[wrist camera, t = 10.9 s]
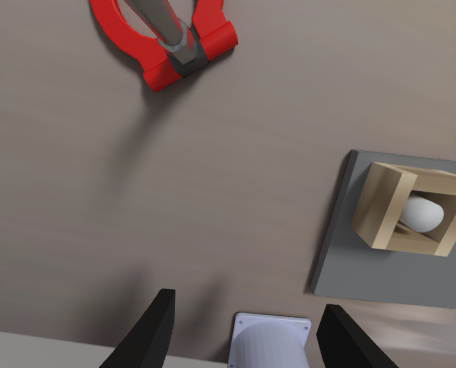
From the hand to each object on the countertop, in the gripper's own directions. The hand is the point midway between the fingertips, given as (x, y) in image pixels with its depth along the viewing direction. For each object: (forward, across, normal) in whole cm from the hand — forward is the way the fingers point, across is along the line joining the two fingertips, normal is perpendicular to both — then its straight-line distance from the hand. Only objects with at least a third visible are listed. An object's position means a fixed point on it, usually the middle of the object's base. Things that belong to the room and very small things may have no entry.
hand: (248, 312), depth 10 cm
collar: (+8, -12, -4) cm, 15 cm away
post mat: (+9, -16, 0) cm, 19 cm away
